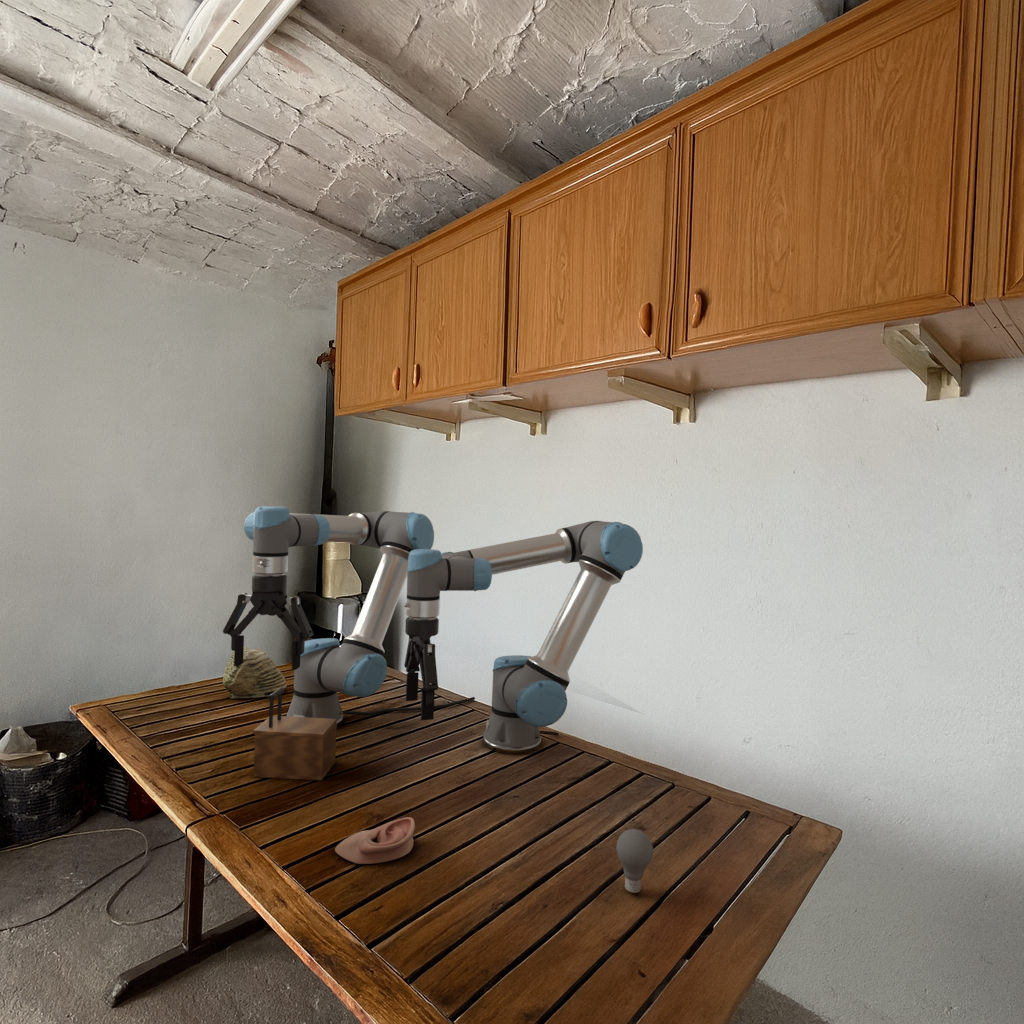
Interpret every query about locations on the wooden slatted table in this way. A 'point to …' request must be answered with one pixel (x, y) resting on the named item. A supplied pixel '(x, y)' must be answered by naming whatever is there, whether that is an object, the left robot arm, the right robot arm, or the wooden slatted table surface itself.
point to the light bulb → (634, 857)
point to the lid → (292, 722)
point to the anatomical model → (379, 843)
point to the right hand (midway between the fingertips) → (419, 709)
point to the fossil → (253, 675)
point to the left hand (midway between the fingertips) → (267, 666)
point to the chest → (294, 756)
